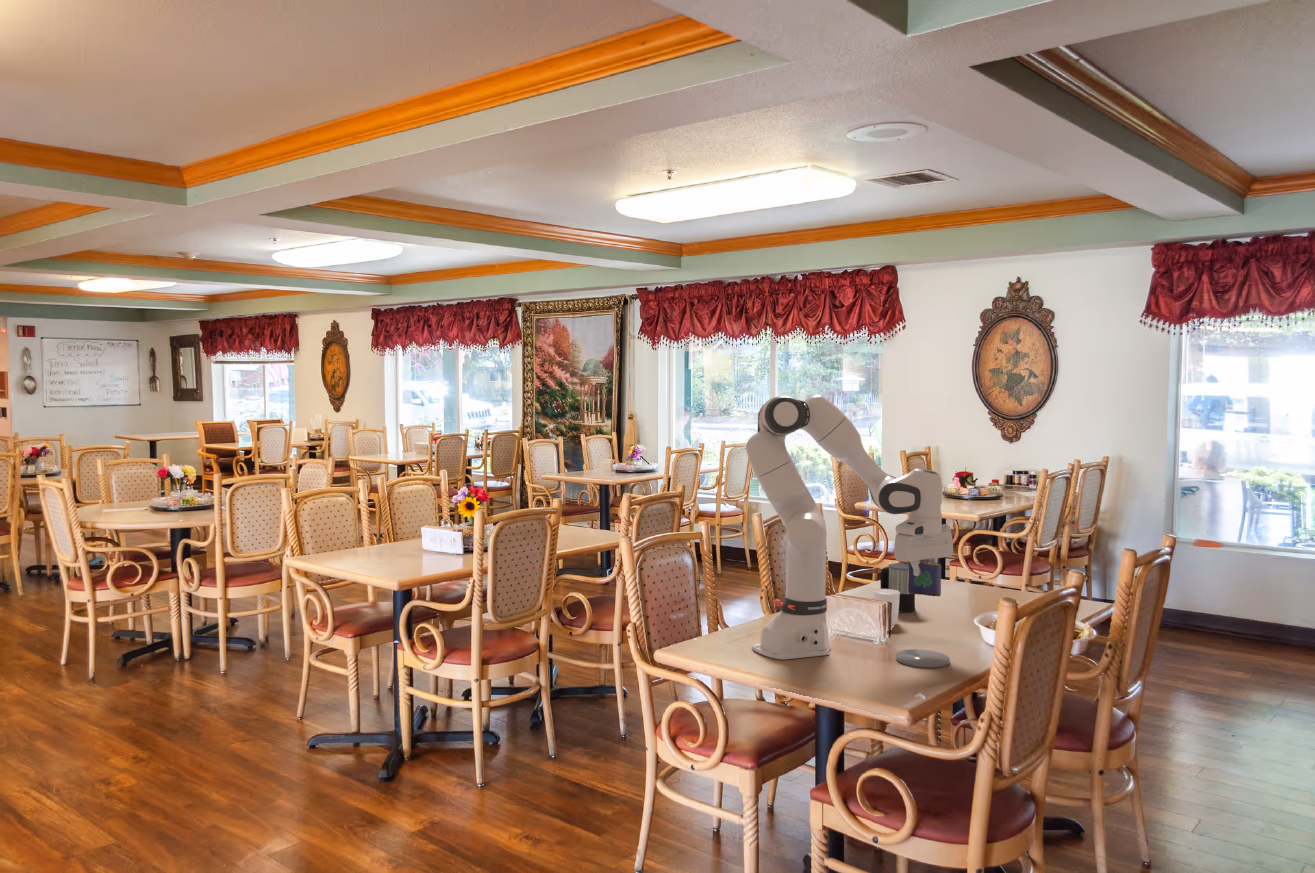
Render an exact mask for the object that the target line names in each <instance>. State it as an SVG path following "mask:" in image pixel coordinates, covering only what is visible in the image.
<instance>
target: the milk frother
mask: <svg viewBox="0 0 1315 873" xmlns="http://www.w3.org/2000/svg"><path fill="white" fill-rule="evenodd" d="M879 575H880V577H879V579H880V582H879V583H880V589H892V590H897V591H899V592H900V598H899V612H898V613H914V612H915V611H916V594H912V593H909V591H908V581H909V563H904V562H902V563H900V562H899V563H898V562H895V563H890V564H888V566H885V567H883V568H881V570H880V574H879Z"/></svg>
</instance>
